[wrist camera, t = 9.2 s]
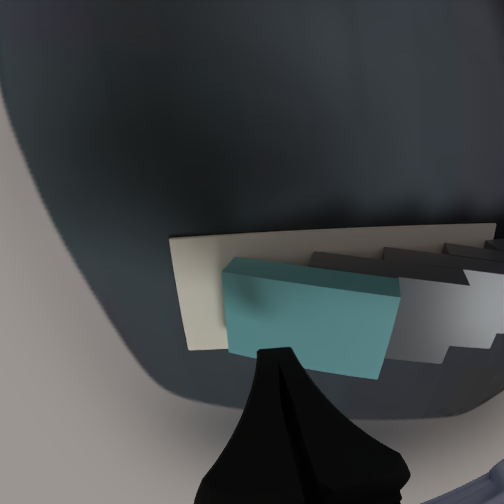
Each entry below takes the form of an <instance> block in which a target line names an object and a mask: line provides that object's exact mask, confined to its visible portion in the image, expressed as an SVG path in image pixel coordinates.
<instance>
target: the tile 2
mask: <svg viewBox="0 0 504 504" xmlns="http://www.w3.org/2000/svg"><path fill="white" fill-rule="evenodd" d="M308 267H314V268H321V269H329V270H336V271H344V272H352V273H359V274H367V275H375V276H383V277H390V278H398V279H399V284H400V295H401V298H400V302H399V307H398V311H397V315H396V318H395V322H394V326H393V330H392V333H391V337H390V340H389V344H388V347H387V351H386V354H385V357H384V358H388V359H397V360H406V361H416V362H426V363H438V364H442V362H443V359H444V357H445V354H446V352H447V350H448V347H449V345H450V342H451V340H452V337H453V335H454V332H455V329H456V327H457V324H458V321H459V318H460V316H461V313H462V310H463V307H464V304H465V301H466V298H467V295H468V291H469V288H470V284H469V282H468V279H467V277H466V275H465V273H464V271H463V270H460V269H453V268H445V267H437V266H429V265H421V264H413V263H405V262H397V261H389V260H381V259H373V258H365V257H357V256H348V255H340V254H332V253H324V252H315V251H314V253H313V255H312V258H311V260H310V262H309V265H308Z"/></svg>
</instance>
